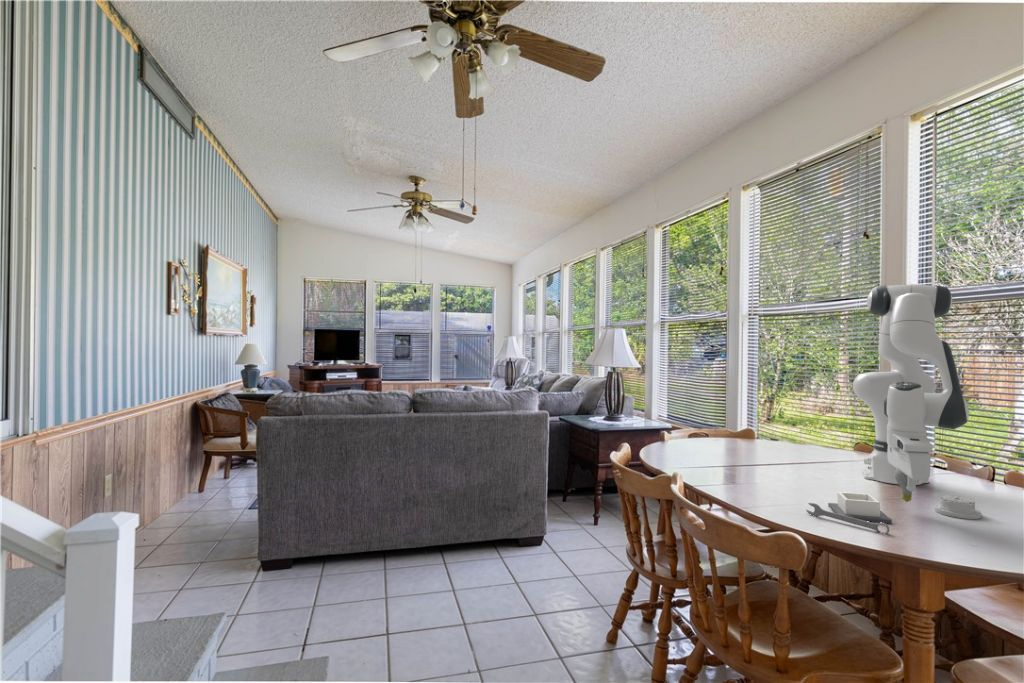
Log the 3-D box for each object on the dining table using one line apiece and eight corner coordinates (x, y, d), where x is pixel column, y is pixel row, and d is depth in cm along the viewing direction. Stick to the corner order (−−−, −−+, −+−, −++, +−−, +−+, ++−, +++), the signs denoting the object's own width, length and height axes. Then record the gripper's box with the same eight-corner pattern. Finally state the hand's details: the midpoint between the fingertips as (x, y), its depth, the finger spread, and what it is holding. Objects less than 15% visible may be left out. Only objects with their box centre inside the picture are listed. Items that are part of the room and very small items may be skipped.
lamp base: (828, 506, 147) (827, 489, 147) (875, 510, 143) (875, 492, 143) (839, 519, 136) (839, 501, 136) (891, 523, 132) (891, 505, 132)
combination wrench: (890, 522, 125) (807, 500, 142) (888, 523, 124) (805, 501, 141) (890, 537, 125) (807, 513, 142) (888, 538, 124) (805, 514, 141)
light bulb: (914, 506, 136) (914, 470, 136) (891, 500, 141) (891, 466, 141) (922, 502, 139) (922, 467, 139) (899, 497, 144) (899, 463, 144)
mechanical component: (938, 506, 146) (931, 513, 140) (937, 491, 146) (930, 498, 140) (984, 514, 139) (978, 522, 132) (983, 499, 139) (978, 506, 132)
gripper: (880, 432, 151) (881, 476, 151) (906, 446, 131) (907, 497, 132) (905, 433, 148) (906, 478, 148) (935, 447, 129) (936, 499, 129)
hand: (906, 487), depth 140 cm, fingers closed on light bulb, 4 cm apart
